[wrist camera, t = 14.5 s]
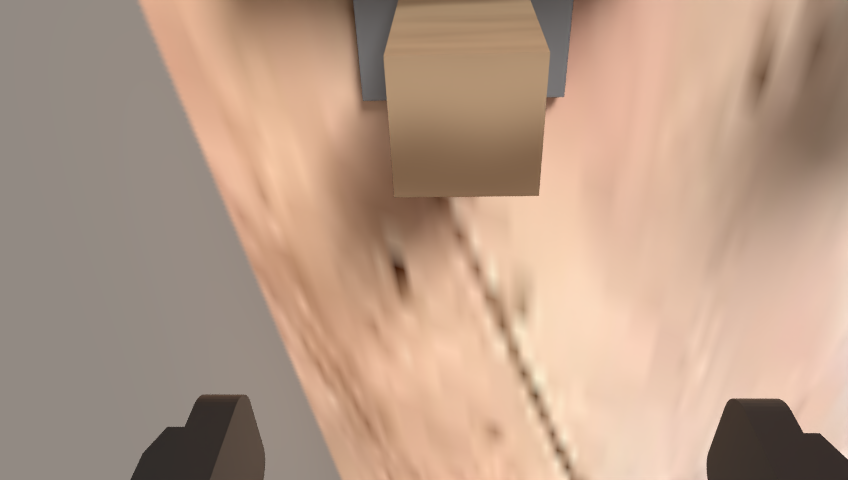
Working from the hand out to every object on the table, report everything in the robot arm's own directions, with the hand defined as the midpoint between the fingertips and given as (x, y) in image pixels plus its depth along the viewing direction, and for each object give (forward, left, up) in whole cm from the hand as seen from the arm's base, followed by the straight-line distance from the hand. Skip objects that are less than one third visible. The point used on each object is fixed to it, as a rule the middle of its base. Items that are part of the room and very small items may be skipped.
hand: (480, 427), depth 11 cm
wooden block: (0, 0, -23) cm, 23 cm away
